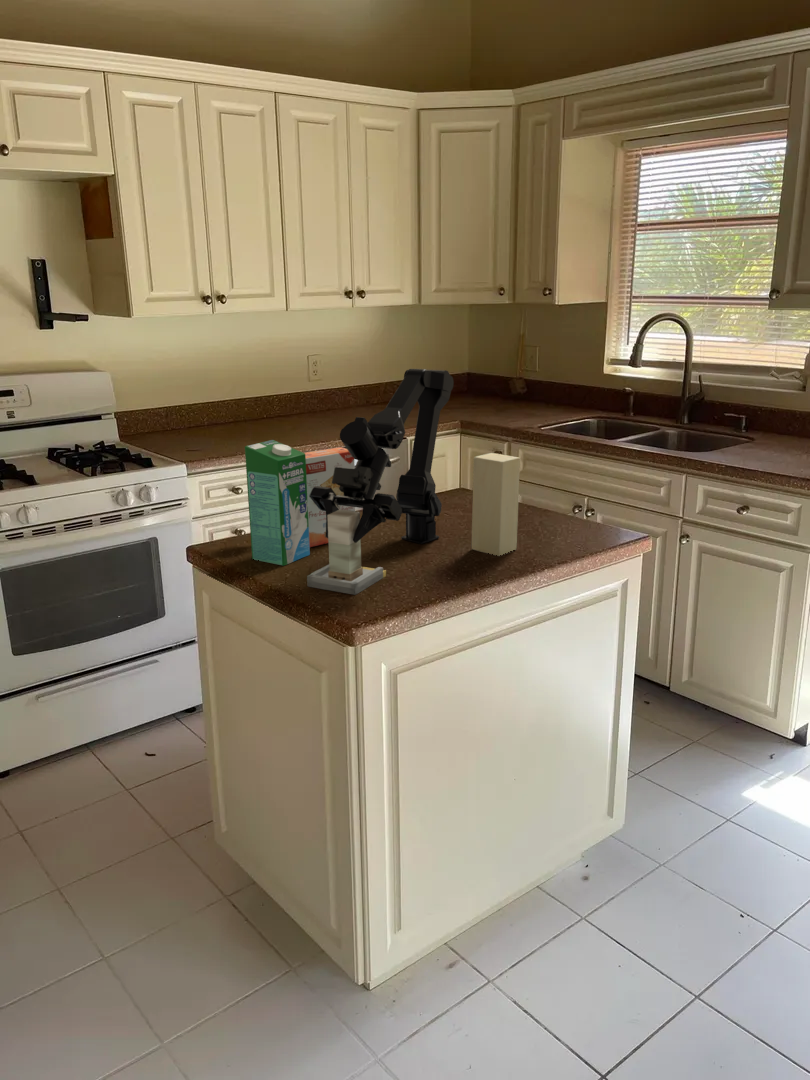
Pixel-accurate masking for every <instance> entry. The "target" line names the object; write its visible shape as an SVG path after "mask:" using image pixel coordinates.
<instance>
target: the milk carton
mask: <svg viewBox="0 0 810 1080" xmlns="http://www.w3.org/2000/svg"><path fill="white" fill-rule="evenodd" d="M305 453H306V452H303V451H300V450H297V449H296V448H293V447H291V446H289V445H287V444H284V443H282V442H280V441H276V440H274V439H270V440H267V441H262V442H259V443H255V444H250V445H246V446H244V454H245V455H244V456H245V457H244V458H245V469H246V470H245V471H246V485H247V486H246V487H247V488H246V489H247V499H248V500H247V502H248V517H249V532H250V534H249V535H250V545H251V546H250V548H251V559H252V560H253V559H254V560H255V561H258V560H259V561H258V562H265V563H270V564H274V565H279V566H283V567H284V566H286V565H289V564H291V563H293V562H296V561H298V560H300V559H304V558H306V557H308V556H310V554H311V551H310V548H311V547H310V545H309V523H308V501H307V479H306V456H305Z"/></svg>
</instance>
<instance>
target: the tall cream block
mask: <svg viewBox="0 0 810 1080" xmlns="http://www.w3.org/2000/svg"><path fill="white" fill-rule="evenodd" d="M472 468H473V471H472V473H473V475H472V476H473V477H472V515H471V521H472V522H471V550H474V551H477V552H481V553H484V554H488V553H489V554H488V555H492V554H493V556H496V555H497V557H501V556H503V554H504V555H506V554H509V553H511V552H510V551H512V552H514V551H513V550H515V551H516V550H517V547H518V546H517V545H518V543H517V541H518V520H519V497H520V496H519V494H520V493H519V492H520V468H521V458H520V457H517V456H512V455H506V454H500V453H495V452H488V453H484V454H481V455H476V456H474V457H473V467H472ZM508 552H509V553H508ZM505 553H506V554H505ZM500 555H501V556H500Z"/></svg>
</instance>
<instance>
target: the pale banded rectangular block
mask: <svg viewBox="0 0 810 1080" xmlns="http://www.w3.org/2000/svg"><path fill="white" fill-rule="evenodd" d="M360 516H361V511H356V510H355V511H348V510H337V511H335V512H333V513H331V514H329V515H327V517H328V542H329V543H328V562H329V563H328V564H329V568H330V570H329V571H328V578H334V579H335V578H337V579H340V580H344V579H345V580H346V581H353V580H354V579H356V578H358V577H359V576H361V575H363V567H364V566H362V545H361V542H362V538H361V539H360V540H359V541H358V542H357V543H354V541H353V537H354V534H355V531H356V529H357V526H358V524H359V521H360V519H361V517H360ZM361 566H362V567H361Z"/></svg>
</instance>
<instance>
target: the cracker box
mask: <svg viewBox="0 0 810 1080" xmlns="http://www.w3.org/2000/svg"><path fill="white" fill-rule="evenodd" d="M304 453H305V456H306V479H307V501H308V523H309V545H310V548H313V547H318V546H321V545H326V544H329V542H328V538H327V537H326V511H322V510H320V509H319V508H318V507H317V505H316V504H315V503H314V502H313V500H312V499H311V498H310V497H309V495H310V493H311V491H312V489H313V488H314V487H316V486H320V487H329V488H331V489H332V490H333V491H334V492H335V494H336V495H341V496H343V495H344V493H343V492H341V491H340V490H339V487H340V486H339V485H337V484H332V479H333V474H334V469H335V467H338V468H348V469H354V468H355V466H356V463H355V459H354V458H353V457H352V456H351V454H350V453H349V451H348V450H347V448H346V447H345V448H344V447H341V446H340V447H333V448H332V447H331V448H328V449H321V450H313V451H308V452H304ZM339 510H348V511H356V507H351V506H343V505H341V506H340V509H339Z"/></svg>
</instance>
